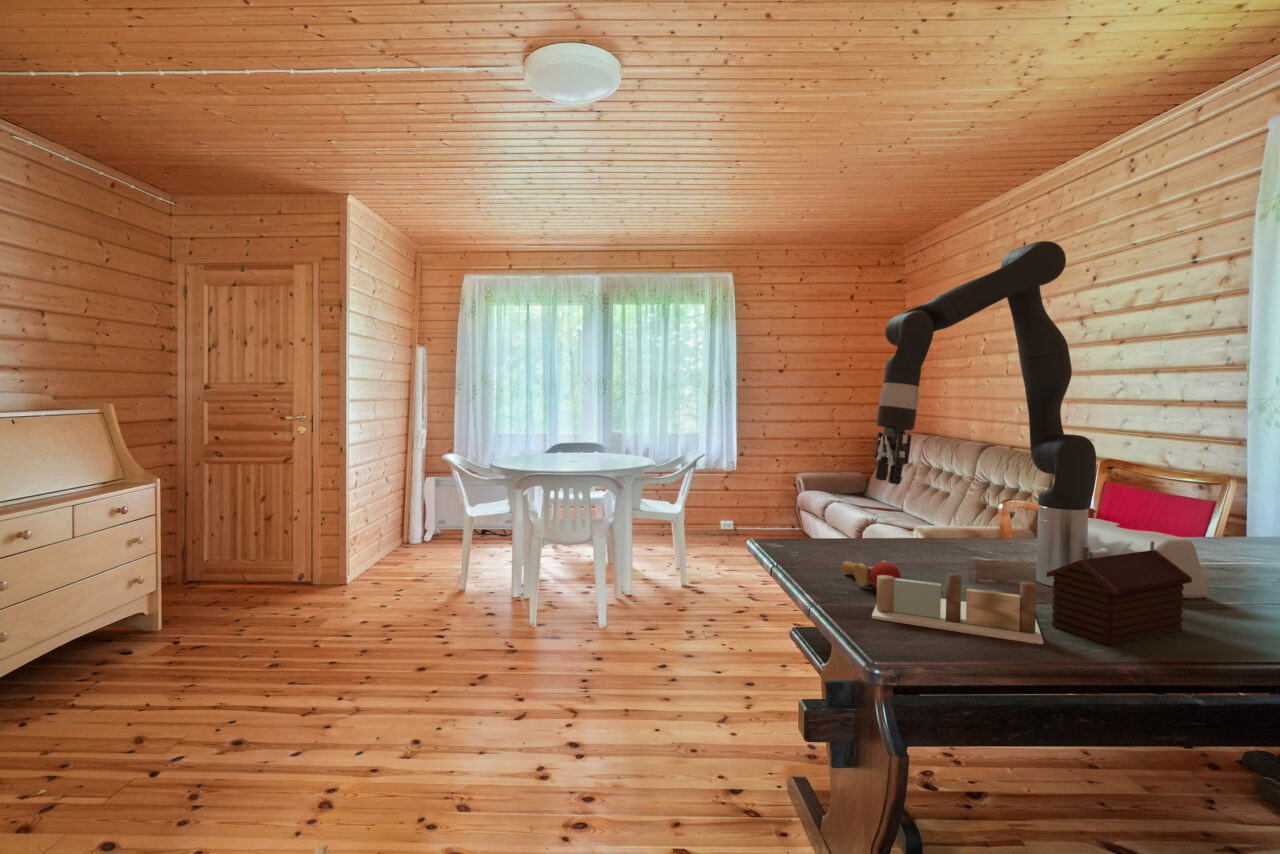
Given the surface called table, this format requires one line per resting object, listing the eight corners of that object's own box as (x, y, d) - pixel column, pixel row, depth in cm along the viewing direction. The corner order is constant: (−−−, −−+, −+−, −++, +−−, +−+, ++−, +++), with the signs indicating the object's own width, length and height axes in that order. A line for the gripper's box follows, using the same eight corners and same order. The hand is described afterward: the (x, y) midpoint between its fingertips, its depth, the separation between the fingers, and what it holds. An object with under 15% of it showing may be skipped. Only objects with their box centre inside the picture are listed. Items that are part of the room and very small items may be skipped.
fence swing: (940, 614, 116) (941, 581, 116) (940, 619, 113) (940, 586, 113) (877, 605, 121) (878, 574, 121) (875, 610, 118) (876, 578, 118)
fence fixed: (1034, 633, 109) (1035, 582, 108) (1035, 638, 107) (1037, 586, 106) (945, 620, 115) (946, 572, 115) (945, 624, 113) (946, 575, 113)
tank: (1045, 569, 151) (1047, 518, 150) (1105, 567, 153) (1107, 516, 152) (1139, 602, 126) (1142, 541, 125) (1210, 599, 128) (1212, 539, 127)
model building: (1118, 611, 121) (1121, 534, 120) (1189, 632, 110) (1193, 548, 109) (1044, 625, 113) (1047, 543, 112) (1113, 649, 102) (1116, 559, 102)
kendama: (829, 580, 145) (875, 589, 127) (832, 552, 146) (878, 558, 128) (859, 585, 146) (908, 594, 129) (862, 558, 147) (911, 564, 130)
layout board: (1032, 613, 119) (1032, 610, 119) (1043, 644, 104) (1043, 640, 104) (882, 593, 131) (882, 590, 131) (871, 618, 116) (871, 615, 116)
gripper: (929, 408, 125) (917, 488, 125) (903, 409, 139) (893, 480, 140) (891, 403, 125) (879, 482, 126) (869, 404, 140) (859, 476, 140)
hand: (887, 481), depth 133 cm, fingers open, 8 cm apart
